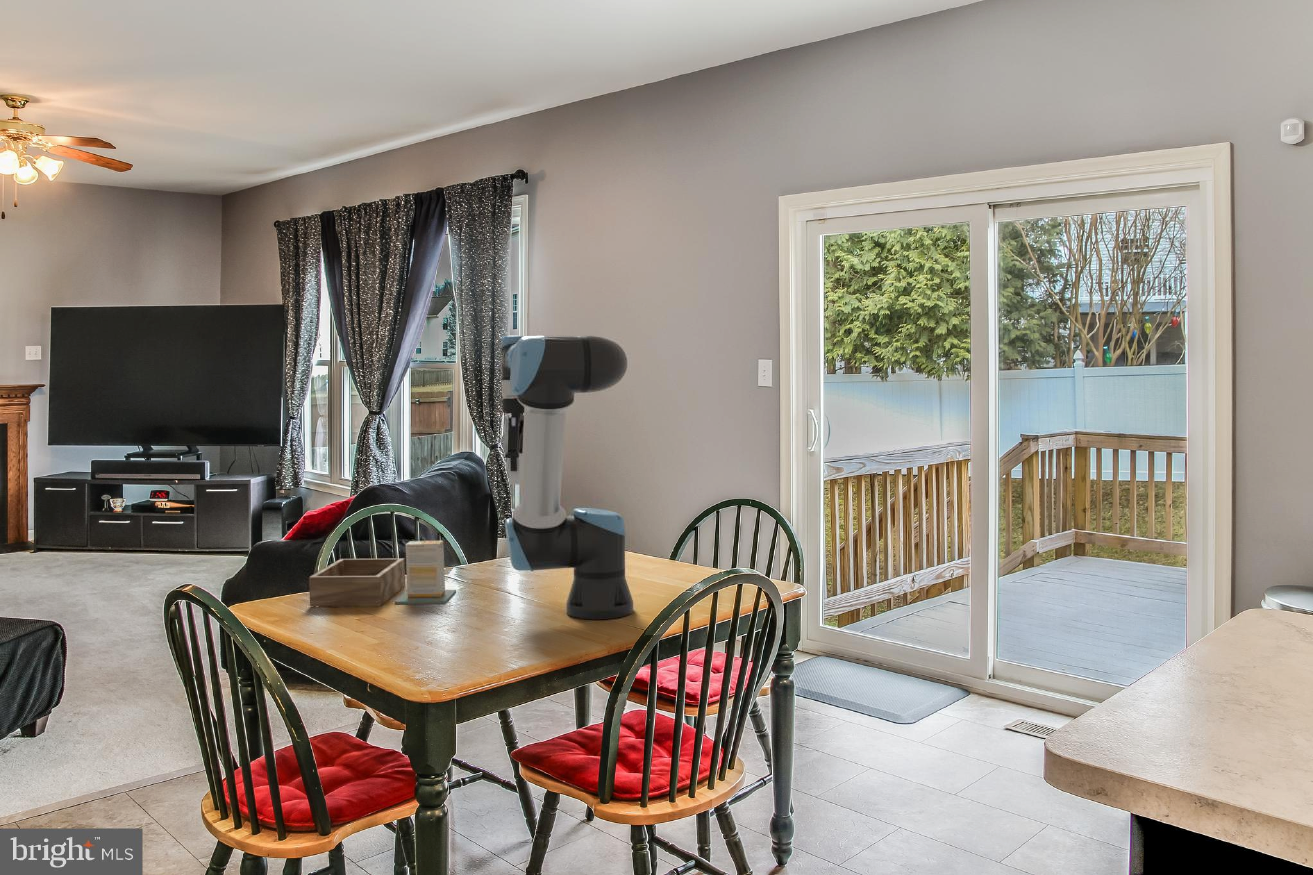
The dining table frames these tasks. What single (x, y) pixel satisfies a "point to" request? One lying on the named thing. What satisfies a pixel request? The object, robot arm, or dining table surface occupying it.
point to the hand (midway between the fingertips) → (518, 481)
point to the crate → (357, 582)
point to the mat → (425, 599)
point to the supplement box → (425, 568)
